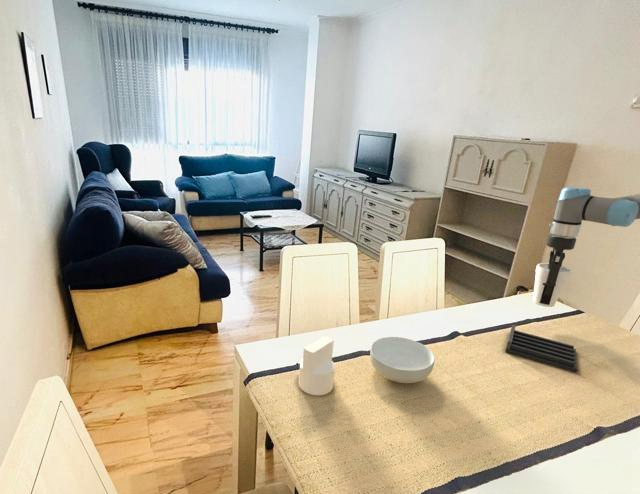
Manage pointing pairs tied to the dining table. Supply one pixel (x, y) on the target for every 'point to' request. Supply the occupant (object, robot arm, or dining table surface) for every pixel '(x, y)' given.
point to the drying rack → (542, 350)
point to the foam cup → (541, 278)
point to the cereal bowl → (401, 359)
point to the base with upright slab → (317, 367)
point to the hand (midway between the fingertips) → (544, 298)
